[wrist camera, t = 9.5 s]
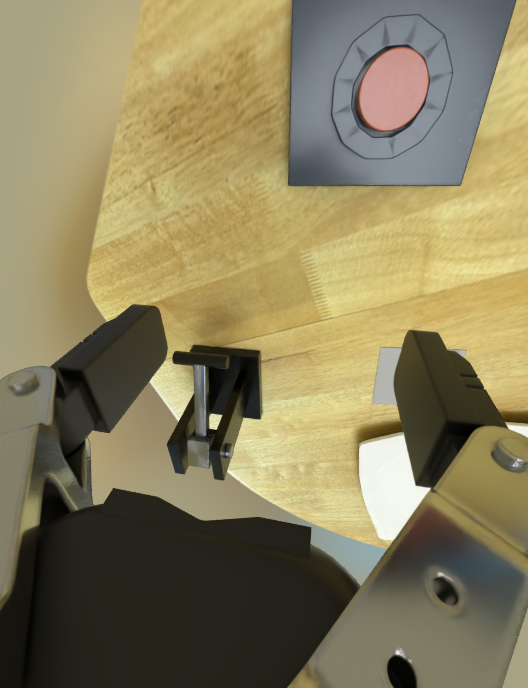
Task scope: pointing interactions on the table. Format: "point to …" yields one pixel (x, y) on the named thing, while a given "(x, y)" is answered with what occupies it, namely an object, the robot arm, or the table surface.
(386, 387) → the grey square pad
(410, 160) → the button box
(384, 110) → the button
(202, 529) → the robot arm
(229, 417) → the lever bracket
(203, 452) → the press lever
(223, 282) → the table surface
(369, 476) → the plate
